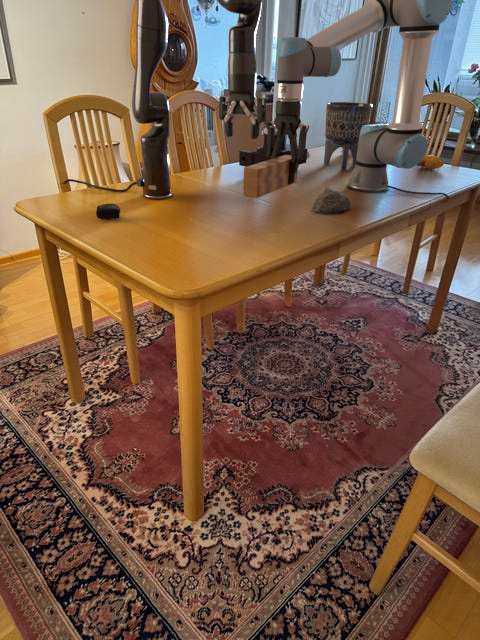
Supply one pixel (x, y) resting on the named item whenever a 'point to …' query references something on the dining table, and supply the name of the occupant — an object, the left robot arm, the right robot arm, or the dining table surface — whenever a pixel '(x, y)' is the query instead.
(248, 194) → the bar
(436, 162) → the toy
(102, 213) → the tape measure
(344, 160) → the planter
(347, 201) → the rock
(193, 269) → the dining table surface
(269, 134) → the right robot arm
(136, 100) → the left robot arm
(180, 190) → the dining table surface
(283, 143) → the mechanical component
